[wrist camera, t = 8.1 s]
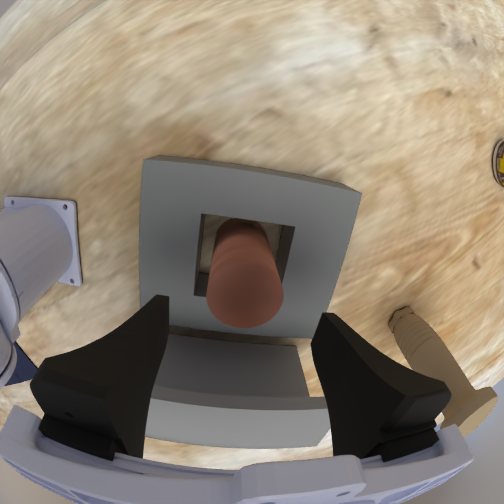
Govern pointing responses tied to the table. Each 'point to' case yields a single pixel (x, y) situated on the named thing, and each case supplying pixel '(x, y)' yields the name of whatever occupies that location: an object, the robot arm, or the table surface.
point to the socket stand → (227, 352)
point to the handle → (441, 371)
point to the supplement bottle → (499, 163)
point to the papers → (22, 368)
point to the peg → (243, 276)
